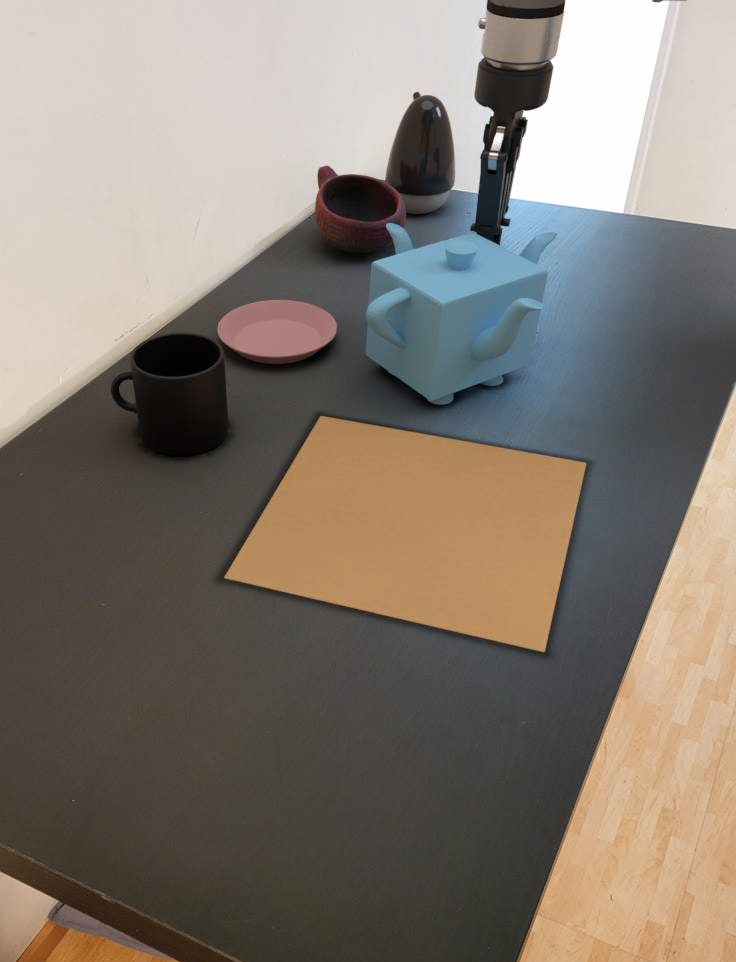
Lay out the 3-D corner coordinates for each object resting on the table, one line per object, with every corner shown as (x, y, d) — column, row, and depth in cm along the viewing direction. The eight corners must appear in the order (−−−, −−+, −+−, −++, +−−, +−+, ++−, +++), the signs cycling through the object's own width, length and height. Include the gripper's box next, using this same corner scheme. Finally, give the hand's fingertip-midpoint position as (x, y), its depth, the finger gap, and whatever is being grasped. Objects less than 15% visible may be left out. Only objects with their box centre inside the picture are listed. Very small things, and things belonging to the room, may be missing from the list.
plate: (360, 347, 112) (361, 331, 110) (262, 385, 106) (262, 368, 105) (290, 304, 120) (290, 289, 119) (195, 337, 114) (194, 321, 113)
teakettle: (352, 408, 102) (359, 276, 92) (377, 327, 115) (386, 203, 104) (529, 427, 99) (557, 292, 88) (535, 341, 111) (561, 215, 101)
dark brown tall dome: (439, 192, 146) (450, 82, 135) (460, 217, 138) (474, 103, 128) (375, 198, 145) (382, 87, 134) (393, 223, 137) (402, 109, 127)
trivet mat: (586, 464, 94) (586, 462, 94) (544, 653, 76) (544, 652, 76) (320, 417, 101) (320, 415, 101) (223, 579, 83) (223, 577, 83)
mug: (125, 407, 104) (114, 330, 97) (233, 409, 103) (229, 332, 96) (108, 455, 97) (95, 376, 90) (223, 458, 96) (218, 379, 89)
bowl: (420, 240, 133) (426, 181, 127) (375, 273, 126) (379, 212, 120) (324, 218, 140) (325, 160, 134) (276, 248, 132) (275, 189, 127)
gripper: (492, 39, 100) (461, 257, 117) (466, 74, 92) (437, 303, 109) (563, 44, 98) (522, 265, 115) (543, 81, 90) (502, 313, 107)
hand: (481, 283), depth 112 cm, fingers closed
